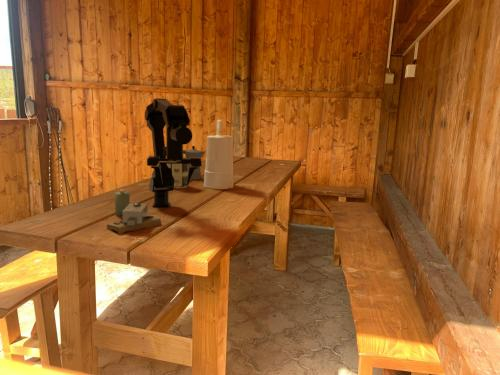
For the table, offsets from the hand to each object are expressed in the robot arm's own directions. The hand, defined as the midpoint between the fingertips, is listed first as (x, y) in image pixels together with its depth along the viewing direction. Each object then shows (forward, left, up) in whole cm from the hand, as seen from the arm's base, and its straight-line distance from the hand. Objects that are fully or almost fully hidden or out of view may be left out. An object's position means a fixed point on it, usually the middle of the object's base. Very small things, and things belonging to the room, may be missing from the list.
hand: (174, 185), depth 139 cm
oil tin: (-4, -19, -12) cm, 23 cm away
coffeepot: (-77, +6, -12) cm, 78 cm away
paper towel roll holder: (-56, +20, -12) cm, 61 cm away
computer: (+10, -13, -13) cm, 21 cm away
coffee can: (-54, -1, -12) cm, 55 cm away
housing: (+10, -13, -10) cm, 19 cm away
